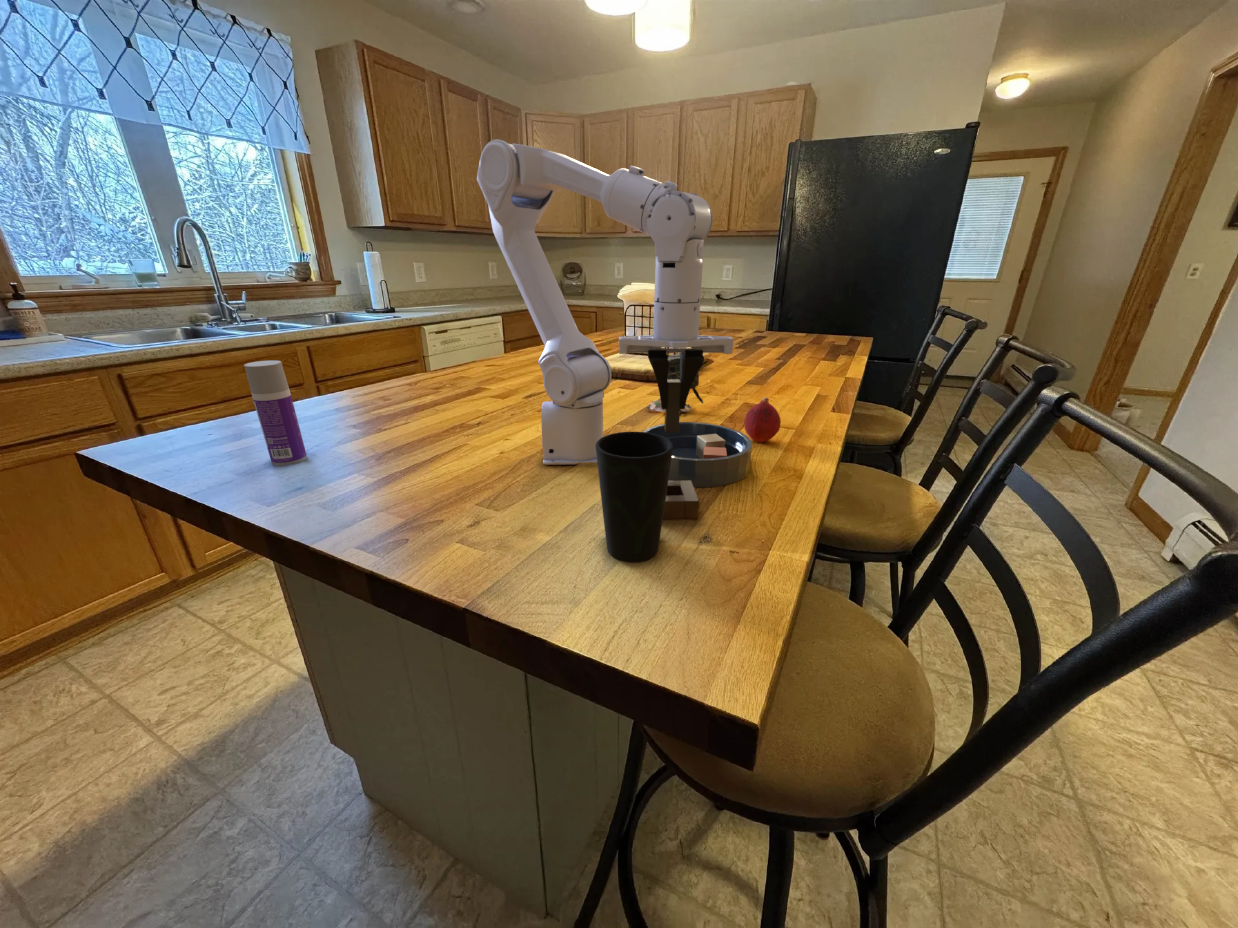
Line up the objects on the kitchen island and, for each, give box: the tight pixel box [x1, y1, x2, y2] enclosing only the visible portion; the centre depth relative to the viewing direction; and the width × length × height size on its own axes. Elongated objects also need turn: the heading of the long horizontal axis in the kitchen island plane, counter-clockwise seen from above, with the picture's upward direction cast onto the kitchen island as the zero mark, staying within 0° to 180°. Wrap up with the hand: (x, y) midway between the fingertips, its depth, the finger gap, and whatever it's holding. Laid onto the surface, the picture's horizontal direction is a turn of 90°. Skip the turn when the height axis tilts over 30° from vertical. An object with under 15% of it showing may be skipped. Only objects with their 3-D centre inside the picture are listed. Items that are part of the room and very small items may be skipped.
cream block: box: [696, 434, 725, 459], centre depth 75 cm, size 3×3×3 cm
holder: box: [663, 480, 700, 521], centre depth 60 cm, size 6×6×3 cm
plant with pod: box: [646, 347, 704, 413], centre depth 97 cm, size 8×11×20 cm
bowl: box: [642, 421, 753, 488], centre depth 73 cm, size 16×16×4 cm
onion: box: [743, 396, 782, 444], centre depth 82 cm, size 6×6×8 cm
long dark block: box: [664, 379, 681, 433], centre depth 66 cm, size 2×2×7 cm
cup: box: [595, 431, 673, 563], centre depth 51 cm, size 8×8×12 cm
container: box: [243, 359, 308, 467], centre depth 73 cm, size 5×5×15 cm
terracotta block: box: [703, 447, 727, 459], centre depth 70 cm, size 3×3×3 cm
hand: (672, 407), depth 66 cm, fingers closed on long dark block, 2 cm apart
